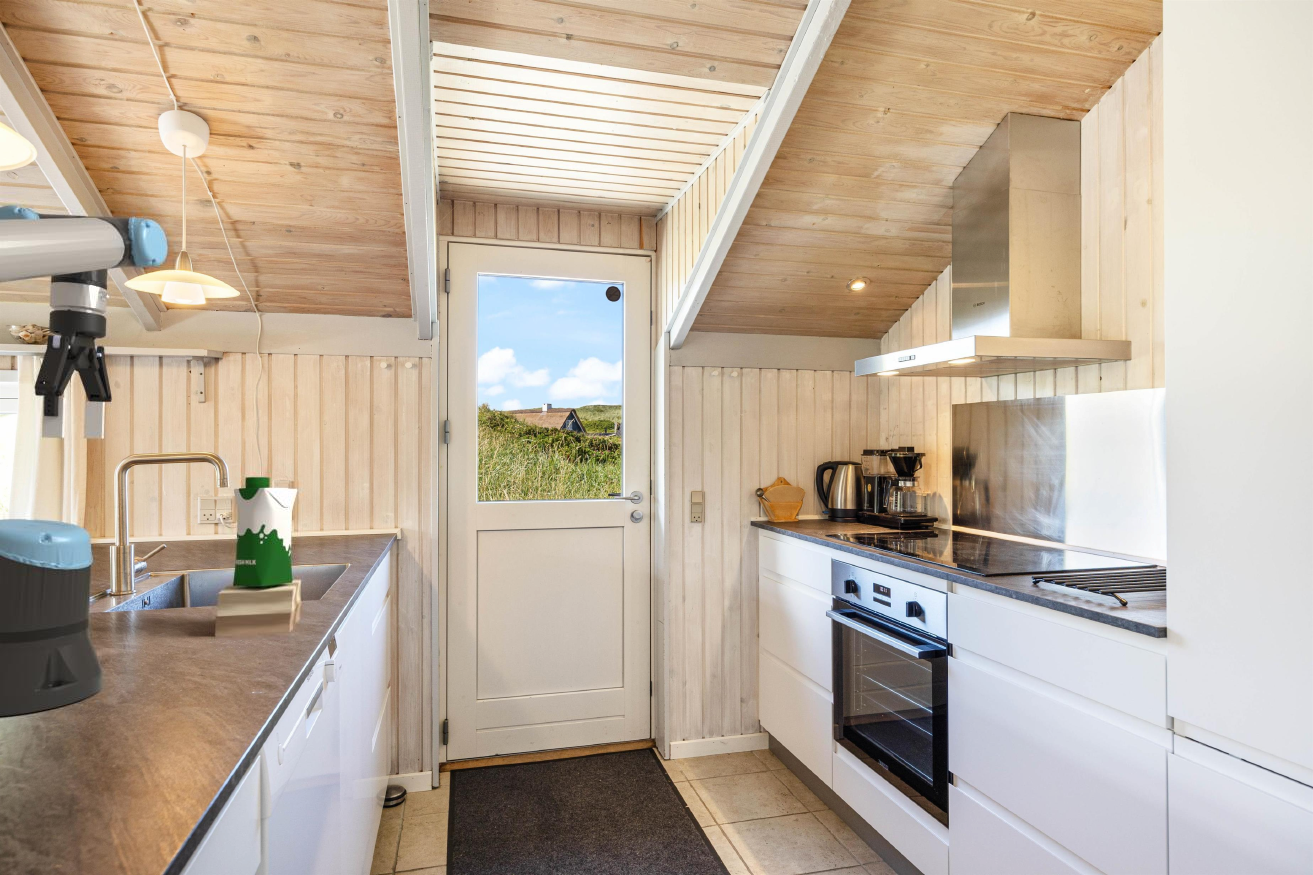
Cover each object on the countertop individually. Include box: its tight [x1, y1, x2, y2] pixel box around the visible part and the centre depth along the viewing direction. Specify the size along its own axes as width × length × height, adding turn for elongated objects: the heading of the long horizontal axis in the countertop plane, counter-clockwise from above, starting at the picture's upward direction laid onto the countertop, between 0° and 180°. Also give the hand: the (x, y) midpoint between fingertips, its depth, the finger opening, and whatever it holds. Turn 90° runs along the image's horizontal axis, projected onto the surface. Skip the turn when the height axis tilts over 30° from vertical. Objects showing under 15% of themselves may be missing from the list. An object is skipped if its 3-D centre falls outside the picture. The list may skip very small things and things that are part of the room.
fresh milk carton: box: [232, 476, 298, 587], centre depth 138 cm, size 9×9×20 cm
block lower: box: [214, 599, 303, 638], centre depth 137 cm, size 12×12×4 cm
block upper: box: [216, 579, 302, 616], centre depth 137 cm, size 12×12×4 cm
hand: (74, 438), depth 123 cm, fingers open, 13 cm apart
